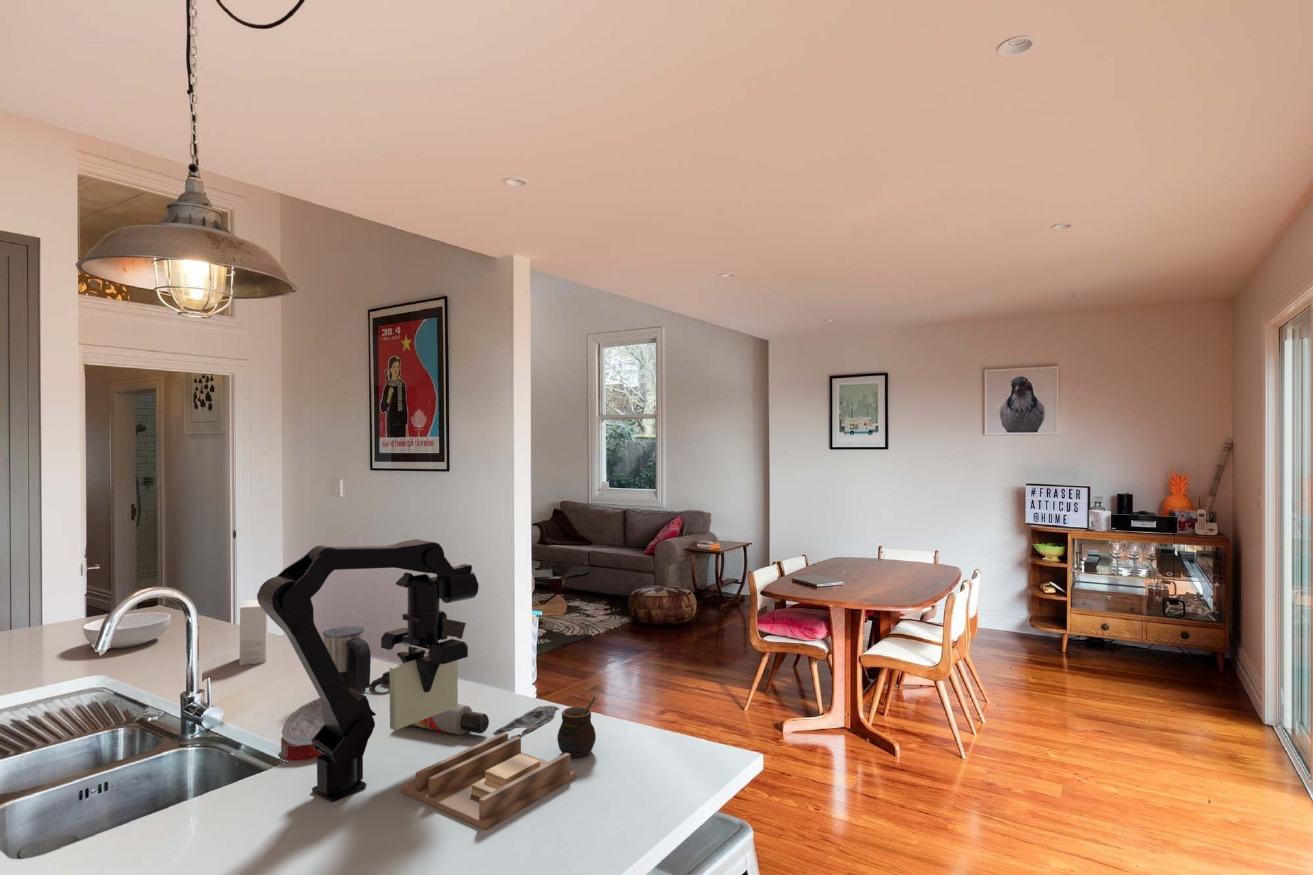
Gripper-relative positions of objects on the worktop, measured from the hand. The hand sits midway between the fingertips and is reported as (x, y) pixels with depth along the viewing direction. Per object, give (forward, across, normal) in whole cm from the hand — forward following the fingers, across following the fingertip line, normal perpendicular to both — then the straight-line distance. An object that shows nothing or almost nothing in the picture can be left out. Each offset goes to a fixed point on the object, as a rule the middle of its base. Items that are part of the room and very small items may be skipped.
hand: (423, 690), depth 138 cm
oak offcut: (+10, -22, -1) cm, 25 cm away
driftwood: (+14, -4, -22) cm, 26 cm away
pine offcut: (+12, -22, 0) cm, 25 cm away
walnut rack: (+13, -18, 0) cm, 22 cm away
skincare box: (+13, +88, -12) cm, 90 cm away
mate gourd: (+13, -22, -18) cm, 31 cm away
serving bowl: (+13, +135, +1) cm, 136 cm away
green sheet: (+5, 0, 0) cm, 5 cm away
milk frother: (+13, +43, -15) cm, 48 cm away
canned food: (+13, +22, +10) cm, 27 cm away
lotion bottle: (+10, +18, -9) cm, 22 cm away
